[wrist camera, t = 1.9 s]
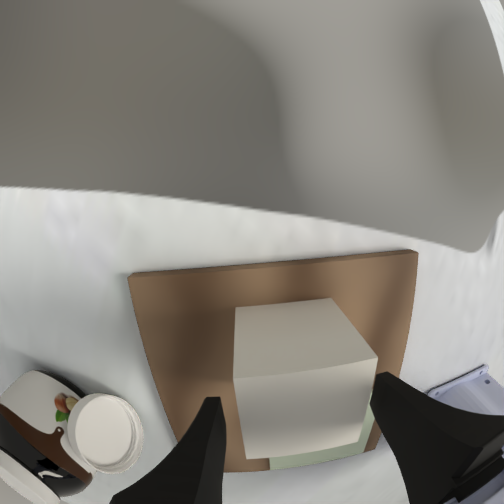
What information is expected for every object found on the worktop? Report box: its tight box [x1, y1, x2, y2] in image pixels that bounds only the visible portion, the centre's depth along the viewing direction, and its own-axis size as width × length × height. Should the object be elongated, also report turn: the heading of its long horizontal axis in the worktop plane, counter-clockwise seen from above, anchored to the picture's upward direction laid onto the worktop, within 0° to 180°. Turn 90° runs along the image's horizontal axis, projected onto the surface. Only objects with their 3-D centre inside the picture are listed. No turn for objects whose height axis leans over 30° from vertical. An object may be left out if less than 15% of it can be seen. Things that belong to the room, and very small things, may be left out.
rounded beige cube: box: [233, 298, 378, 459], centre depth 13 cm, size 6×6×6 cm
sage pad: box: [269, 389, 375, 470], centre depth 18 cm, size 9×9×1 cm
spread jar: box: [0, 370, 144, 504], centre depth 13 cm, size 12×11×12 cm
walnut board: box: [128, 249, 418, 472], centre depth 18 cm, size 18×20×1 cm
